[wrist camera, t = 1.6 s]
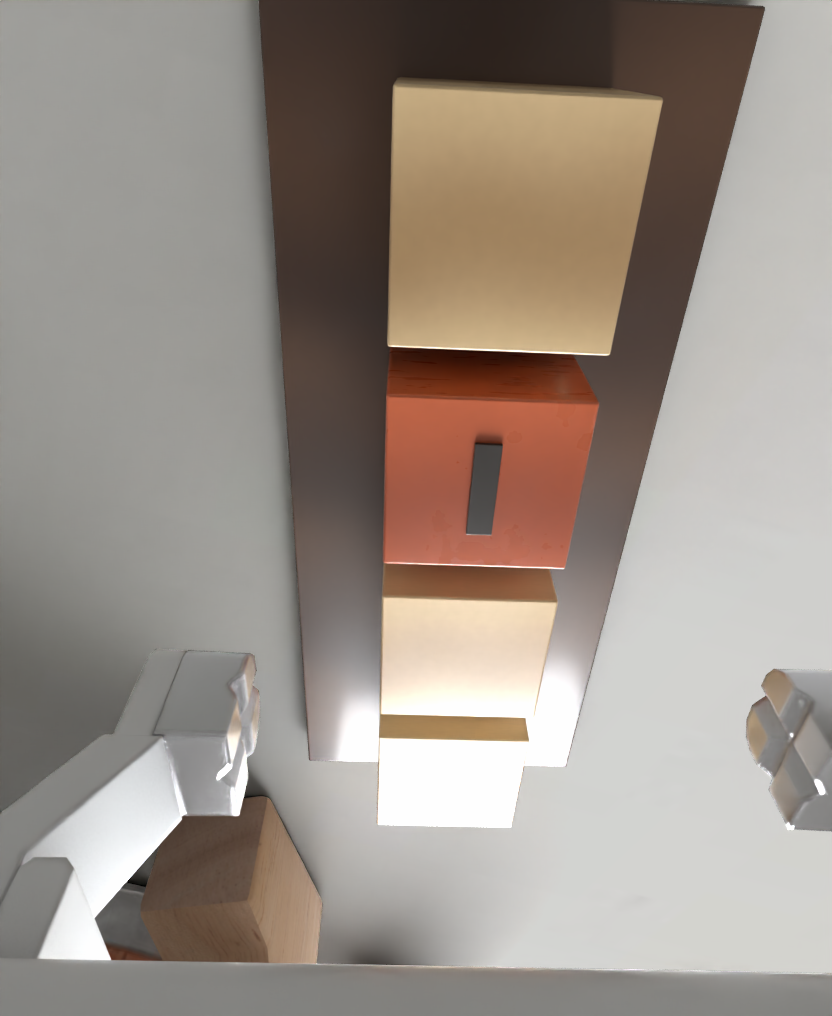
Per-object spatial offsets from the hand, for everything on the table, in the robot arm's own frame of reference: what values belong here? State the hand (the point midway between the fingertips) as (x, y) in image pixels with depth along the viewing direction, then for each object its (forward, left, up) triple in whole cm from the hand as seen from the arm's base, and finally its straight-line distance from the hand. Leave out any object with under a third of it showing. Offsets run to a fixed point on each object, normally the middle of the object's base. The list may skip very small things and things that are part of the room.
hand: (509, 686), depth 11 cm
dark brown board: (+3, 0, -10) cm, 10 cm away
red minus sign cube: (0, 0, -9) cm, 9 cm away
